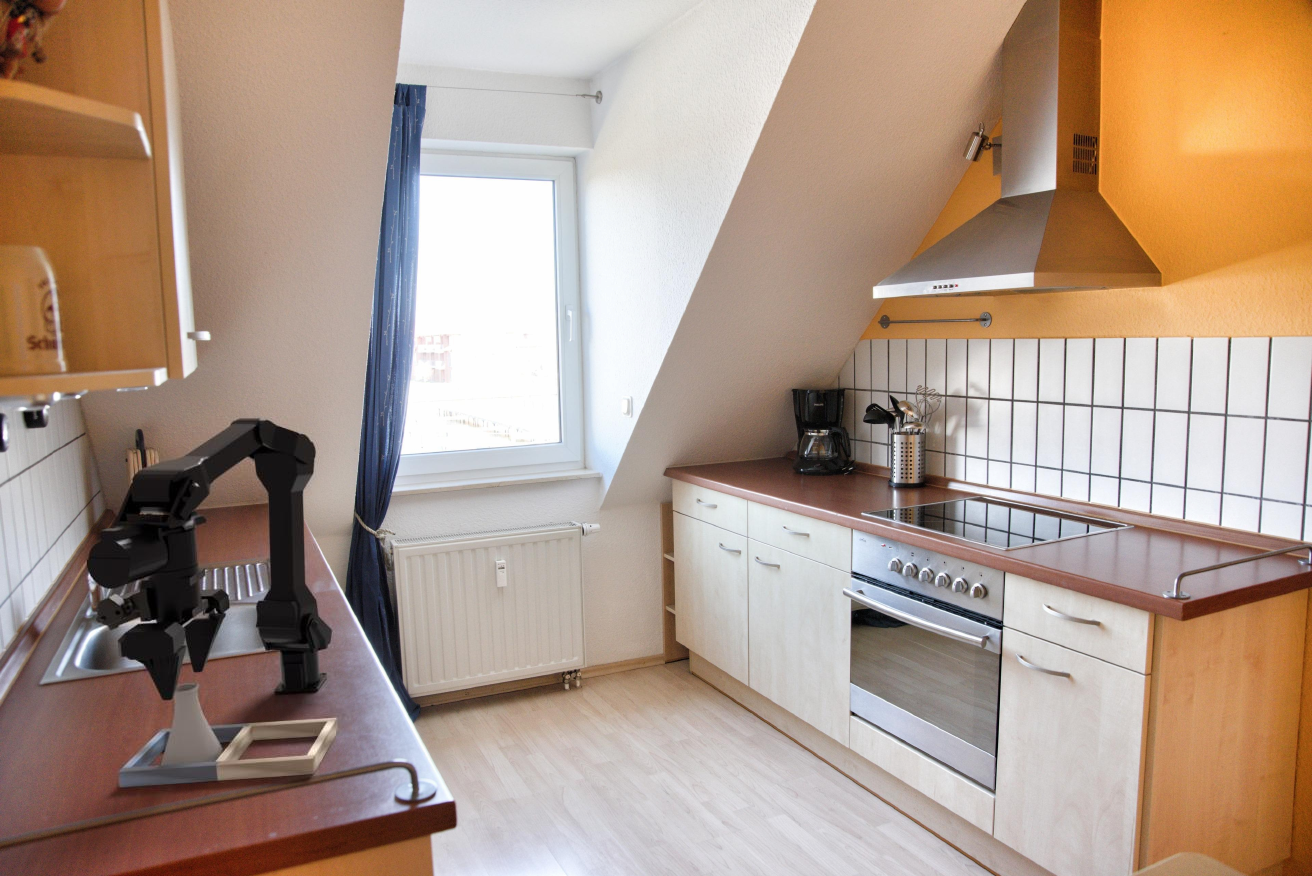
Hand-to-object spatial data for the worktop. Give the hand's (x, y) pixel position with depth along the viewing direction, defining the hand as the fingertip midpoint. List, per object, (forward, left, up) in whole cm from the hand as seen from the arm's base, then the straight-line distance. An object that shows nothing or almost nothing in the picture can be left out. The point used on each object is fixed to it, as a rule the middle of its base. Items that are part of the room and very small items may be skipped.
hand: (183, 685), depth 114 cm
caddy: (0, +6, -10) cm, 12 cm away
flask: (0, 0, -11) cm, 11 cm away
